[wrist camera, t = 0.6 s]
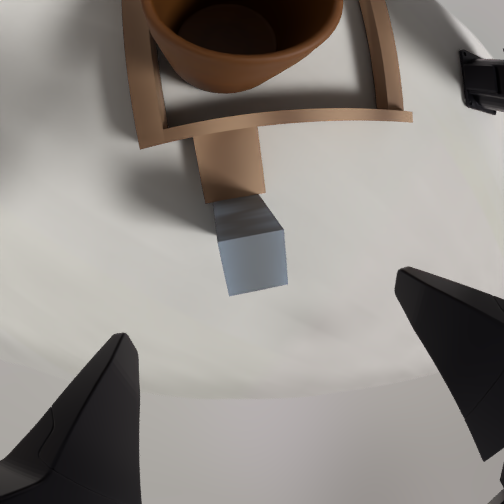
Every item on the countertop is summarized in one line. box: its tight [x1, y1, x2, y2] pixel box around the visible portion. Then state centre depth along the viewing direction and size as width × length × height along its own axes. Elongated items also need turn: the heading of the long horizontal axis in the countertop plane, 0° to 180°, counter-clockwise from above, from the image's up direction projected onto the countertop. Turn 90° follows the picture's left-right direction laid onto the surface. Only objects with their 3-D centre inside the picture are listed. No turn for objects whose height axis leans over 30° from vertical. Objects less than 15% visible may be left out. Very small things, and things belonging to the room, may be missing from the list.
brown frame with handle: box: [122, 0, 413, 296], centre depth 11 cm, size 18×24×7 cm
